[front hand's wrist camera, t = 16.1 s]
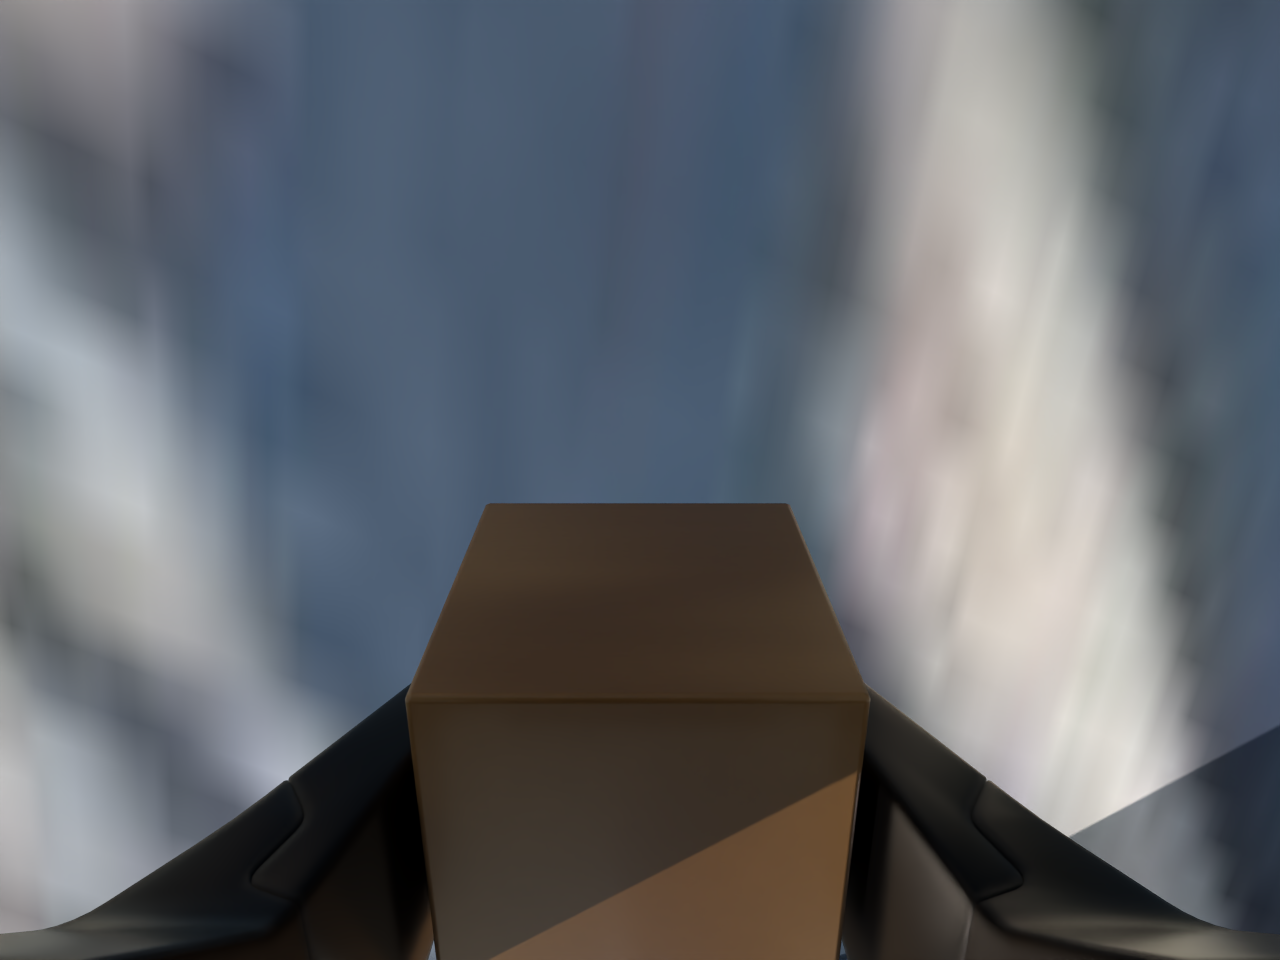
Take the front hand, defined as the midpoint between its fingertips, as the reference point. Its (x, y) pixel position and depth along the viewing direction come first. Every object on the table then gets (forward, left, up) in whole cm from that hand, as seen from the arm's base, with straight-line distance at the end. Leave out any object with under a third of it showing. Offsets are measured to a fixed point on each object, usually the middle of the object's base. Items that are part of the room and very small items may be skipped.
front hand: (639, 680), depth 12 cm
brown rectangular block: (0, 0, -1) cm, 1 cm away
